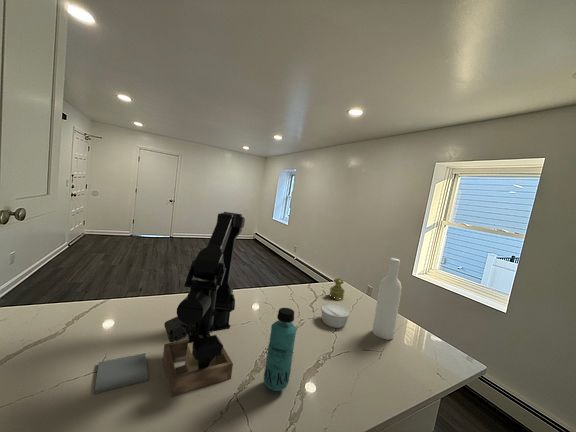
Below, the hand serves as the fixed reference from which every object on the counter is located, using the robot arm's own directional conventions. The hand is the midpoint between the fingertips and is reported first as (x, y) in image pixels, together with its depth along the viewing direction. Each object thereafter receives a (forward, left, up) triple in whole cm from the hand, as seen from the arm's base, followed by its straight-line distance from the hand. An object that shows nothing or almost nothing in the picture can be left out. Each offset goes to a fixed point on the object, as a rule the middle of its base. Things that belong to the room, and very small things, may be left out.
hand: (196, 363), depth 65 cm
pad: (+16, -5, -1) cm, 17 cm away
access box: (0, 0, -1) cm, 1 cm away
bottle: (-69, +7, -2) cm, 69 cm away
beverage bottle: (-16, +14, -2) cm, 21 cm away
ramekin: (-56, -7, -2) cm, 56 cm away
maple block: (0, 0, -2) cm, 2 cm away
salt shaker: (-77, -27, -2) cm, 82 cm away
